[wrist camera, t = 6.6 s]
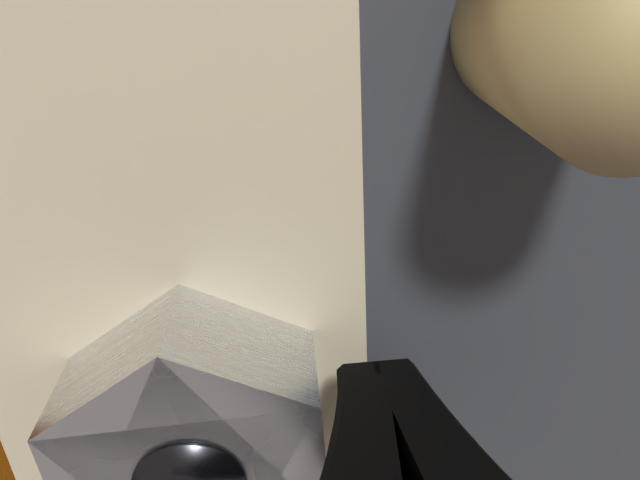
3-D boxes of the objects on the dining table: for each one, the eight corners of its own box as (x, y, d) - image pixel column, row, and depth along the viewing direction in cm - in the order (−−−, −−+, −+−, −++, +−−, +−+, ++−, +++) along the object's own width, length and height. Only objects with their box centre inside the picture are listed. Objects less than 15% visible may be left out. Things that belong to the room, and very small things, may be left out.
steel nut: (329, 480, 12) (338, 575, 10) (119, 504, 12) (91, 604, 10) (306, 270, 10) (313, 342, 8) (49, 297, 10) (-3, 377, 8)
